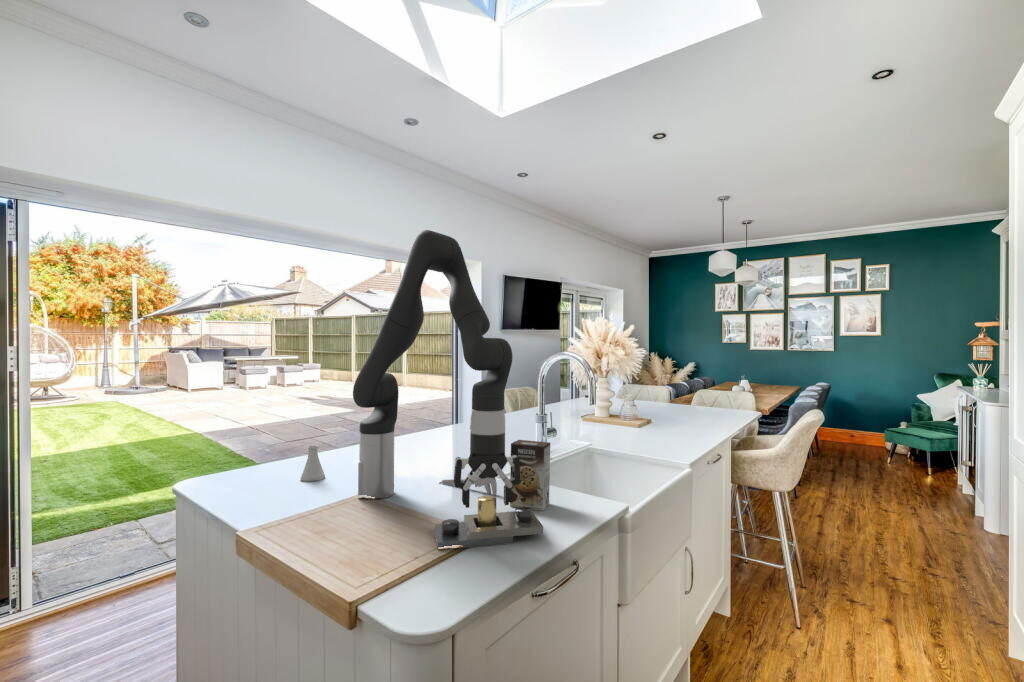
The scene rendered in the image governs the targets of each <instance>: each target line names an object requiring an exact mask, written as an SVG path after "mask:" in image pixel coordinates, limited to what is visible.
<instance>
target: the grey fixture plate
mask: <svg viewBox="0 0 1024 682" xmlns="http://www.w3.org/2000/svg"><path fill="white" fill-rule="evenodd" d="M435 533H436V537H435V540H436V539H437V543H436V548H437V547H444V546H452V545H463V548H462V549H464V548H477V547H478V548H479V547H487V546H498V545H510V544H514V537H518V536H528V535H531V536H532V535H541V534H544V525H543V524H542V523H541V522H540V520H539V519H538V517H537V516H536V514H534V512H533V509H531V508H528V507H515V511H501V512H500V511H499V512H496V526H491V527H479V528H478V513H475V514H464V515H463V521H460V520H458V519H453V518H449V519H448V518H447V519H445V520H444V519H443V521H442V522H441V523H435V524H434V534H435Z"/></svg>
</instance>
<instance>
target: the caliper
mask: <svg viewBox="0 0 1024 682" xmlns="http://www.w3.org/2000/svg"><path fill="white" fill-rule="evenodd" d="M465 479H466V478H461V481H464V480H465ZM438 484H442V485H445V486H455V485H454V478H450V479H442V480H441V481H439V482H438ZM497 484H498V483H497V479H496V477H495V478H489V477H488V478H484V479H481V478H479V477H478V478H477V479H476V481H475V482H474V483H473V484H472V485H474V488H477V487H478V488H481V487H483V486H484V489H485V491H486V493H487V495H488V496H491V494H492V496H495V495H497V486H498V485H497Z"/></svg>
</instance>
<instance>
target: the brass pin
mask: <svg viewBox="0 0 1024 682" xmlns="http://www.w3.org/2000/svg"><path fill="white" fill-rule="evenodd" d="M496 513H497V497H496V496H495V495H482V496H479V497H477V514H478V528H479V527H491V526H496Z"/></svg>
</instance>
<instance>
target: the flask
mask: <svg viewBox="0 0 1024 682" xmlns="http://www.w3.org/2000/svg"><path fill="white" fill-rule="evenodd" d="M319 447H320V446H319V445H318V444H311V445H308V446H307V450H308V452H307V453H308V454H307V458H306V462H305V465H304V467H303V470H302V473H301V476H300V481H302V482H303V481H304V482H314V481H320V480H323V479H325V478H326V477H325V476H326V475H325V472H324V468H323V467H322V464H321V461H320V458H319V453H318V449H319Z"/></svg>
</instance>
